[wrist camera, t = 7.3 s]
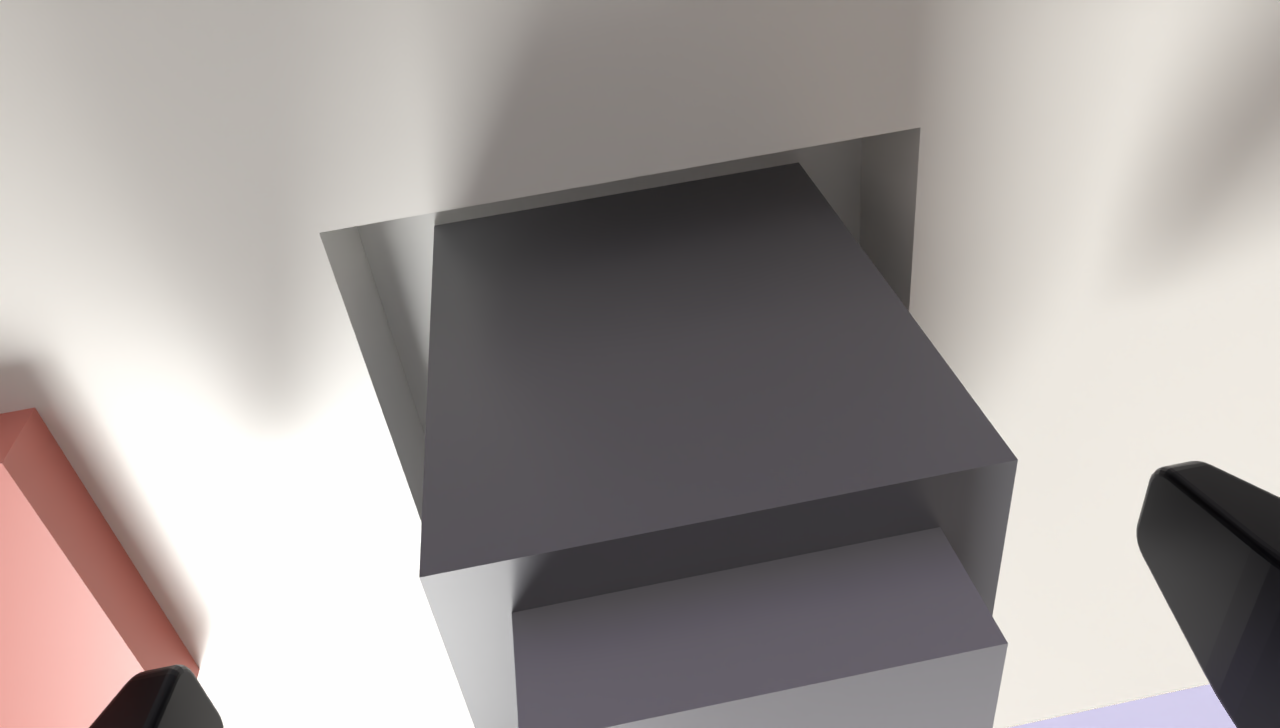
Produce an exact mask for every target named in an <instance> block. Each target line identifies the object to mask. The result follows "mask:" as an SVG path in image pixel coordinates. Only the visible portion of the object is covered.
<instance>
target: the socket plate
mask: <svg viewBox="0 0 1280 728" xmlns="http://www.w3.org/2000/svg"><path fill="white" fill-rule="evenodd" d="M798 162H799V163H800V165H801V166H802V168H803V169H804V170H805V172H806V173H807V174H808V176H809V177H810V178H811V180H812V181H813V182H814V184H815V185H816V186H817V188H818V189H819V191H820V192H821V193H822V195H823V196H824V197H825V199H826V200H827V201H828V203H829V204H830V205H831V207H832V208H833V210H834V211H835V212H836V214H837V215H838V216H839V218H840V219H841V220H842V222H843V223H844V224H845V226H846V227H847V229H848V230H849V231H850V233H851V234H852V235H853V237H854V238H855V239H856V241H857V242H858V243H859V245H860V246H861V248H862V249H863V250H864V252H865V253H866V254H867V256H868V257H869V258H870V260H871V261H872V262H873V264H874V265H875V267H876V268H877V269H878V271H879V272H880V273H881V275H882V276H883V277H884V279H885V280H886V281H887V283H888V284H889V285H890V287H891V288H892V290H893V291H894V292H895V294H896V295H897V296H898V298H899V299H900V300H901V302H902V303H903V304H904V306H905V307H906V309H907V310H908V311H909V313H910V314H911V315H912V317H913V318H914V319H915V321H916V322H917V323H918V325H919V326H920V328H921V329H922V330H923V332H924V333H925V334H926V336H927V337H928V338H929V340H930V341H931V342H932V344H933V345H934V347H935V348H936V349H937V351H938V352H939V353H940V355H941V356H942V357H943V359H944V360H945V361H946V363H947V364H948V365H949V367H950V368H951V370H952V371H953V372H954V374H955V375H956V376H957V378H958V379H959V380H960V382H961V383H962V384H963V386H964V387H965V389H966V390H967V391H968V393H969V394H970V395H971V397H972V398H973V399H974V401H975V402H976V403H977V405H978V406H979V408H980V409H981V410H982V412H983V413H984V414H985V416H986V417H987V418H988V420H989V421H990V422H991V424H992V425H993V427H994V428H995V429H996V431H997V432H998V433H999V435H1000V436H1001V437H1002V439H1003V440H1004V441H1005V443H1006V444H1007V446H1008V447H1009V448H1010V450H1011V451H1012V452H1013V454H1014V455H1015V456H1016V458H1017V459H1018V463H1017V469H1016V475H1015V481H1014V487H1013V493H1012V499H1011V506H1010V512H1009V518H1008V524H1007V530H1006V536H1005V542H1004V548H1003V554H1002V561H1001V567H1000V573H999V579H998V585H997V591H996V597H995V603H994V609H993V615H992V617H993V618H994V620H995V622H996V624H997V625H998V627H999V629H1000V630H1001V632H1002V634H1003V636H1004V637H1005V639H1006V641H1007V642H1008V647H1007V652H1006V657H1005V663H1004V668H1003V674H1002V679H1001V685H1000V690H999V696H998V701H997V706H996V712H995V717H994V723H993V728H1009V727H1013V726H1018V725H1023V724H1027V723H1032V722H1036V721H1041V720H1046V719H1050V718H1055V717H1059V716H1064V715H1069V714H1073V713H1078V712H1083V711H1087V710H1092V709H1096V708H1101V707H1106V706H1110V705H1115V704H1120V703H1124V702H1129V701H1133V700H1138V699H1143V698H1147V697H1152V696H1157V695H1161V694H1166V693H1170V692H1175V691H1180V690H1184V689H1189V688H1194V687H1198V686H1203V685H1207V684H1210V683H1209V681H1208V680H1207V678H1206V676H1205V674H1204V673H1203V671H1202V669H1201V667H1200V665H1199V663H1198V661H1197V659H1196V657H1195V655H1194V653H1193V652H1192V650H1191V648H1190V646H1189V644H1188V642H1187V640H1186V638H1185V636H1184V634H1183V633H1182V631H1181V629H1180V627H1179V625H1178V623H1177V621H1176V619H1175V617H1174V615H1173V613H1172V612H1171V610H1170V608H1169V606H1168V604H1167V602H1166V600H1165V598H1164V596H1163V594H1162V592H1161V591H1160V589H1159V587H1158V585H1157V583H1156V581H1155V579H1154V577H1153V575H1152V573H1151V571H1150V570H1149V568H1148V566H1147V564H1146V562H1145V560H1144V558H1143V556H1142V554H1141V552H1140V549H1139V546H1138V543H1137V537H1136V528H1137V523H1138V519H1139V516H1140V512H1141V508H1142V505H1143V501H1144V498H1145V494H1146V490H1147V487H1148V483H1149V480H1150V477H1151V475H1152V474H1153V473H1154V472H1155V471H1156V470H1157V469H1158V468H1160V467H1164V466H1168V465H1173V464H1178V463H1183V462H1188V461H1202V462H1205V463H1208V464H1211V465H1213V466H1215V467H1217V468H1219V469H1221V470H1223V471H1226V472H1228V473H1230V474H1232V475H1234V476H1236V477H1238V478H1240V479H1242V480H1244V481H1247V482H1249V483H1251V484H1253V485H1255V486H1257V487H1259V488H1261V489H1263V490H1266V491H1268V492H1270V493H1272V494H1274V495H1276V496H1278V497H1280V0H0V728H89V727H90V726H91V724H92V723H93V722H94V721H95V720H96V718H97V717H98V716H99V715H100V714H101V712H102V711H103V710H104V709H105V708H106V707H107V705H108V704H109V703H110V702H111V701H112V699H113V698H114V697H115V696H116V695H117V693H118V692H119V691H120V690H121V689H122V687H123V686H124V685H125V684H126V683H127V682H128V681H129V680H130V679H131V678H132V677H133V676H135V675H136V674H138V673H140V672H143V671H147V670H152V669H157V668H162V667H167V666H172V665H184V666H186V667H188V668H190V670H191V671H192V672H193V673H194V675H195V676H196V678H197V680H198V681H199V683H200V684H201V686H202V687H203V689H204V691H205V692H206V694H207V695H208V697H209V698H210V700H211V702H212V703H213V705H214V706H215V708H216V709H217V711H218V713H219V714H220V717H221V719H222V722H223V725H224V728H475V727H474V724H473V722H472V719H471V716H470V714H469V711H468V708H467V705H466V703H465V700H464V697H463V695H462V692H461V689H460V687H459V684H458V681H457V678H456V676H455V673H454V670H453V668H452V665H451V662H450V660H449V657H448V654H447V651H446V649H445V646H444V643H443V641H442V638H441V635H440V633H439V630H438V627H437V624H436V622H435V619H434V616H433V614H432V611H431V608H430V606H429V603H428V600H427V597H426V595H425V592H424V589H423V587H422V584H421V581H420V578H419V570H420V546H421V523H422V500H423V476H424V453H425V429H426V406H427V382H428V359H429V335H430V312H431V289H432V265H433V242H434V226H435V225H441V224H447V223H453V222H458V221H464V220H470V219H476V218H481V217H487V216H493V215H499V214H504V213H510V212H516V211H522V210H527V209H533V208H539V207H545V206H550V205H556V204H562V203H568V202H573V201H579V200H585V199H591V198H596V197H602V196H608V195H614V194H619V193H625V192H631V191H637V190H642V189H648V188H654V187H660V186H665V185H671V184H677V183H683V182H688V181H694V180H700V179H706V178H711V177H717V176H723V175H729V174H734V173H740V172H746V171H752V170H757V169H763V168H769V167H775V166H780V165H786V164H792V163H798Z"/></svg>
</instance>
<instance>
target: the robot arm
mask: <svg viewBox="0 0 1280 728" xmlns="http://www.w3.org/2000/svg"><path fill="white" fill-rule="evenodd" d="M1136 537H1137V543H1138V546H1139V549H1140V552H1141V554H1142V556H1143V558H1144V560H1145V562H1146V564H1147V566H1148V568H1149V570H1150V571H1151V573H1152V575H1153V577H1154V579H1155V581H1156V583H1157V585H1158V587H1159V589H1160V591H1161V592H1162V594H1163V596H1164V598H1165V600H1166V602H1167V604H1168V606H1169V608H1170V610H1171V612H1172V613H1173V615H1174V617H1175V619H1176V621H1177V623H1178V625H1179V627H1180V629H1181V631H1182V633H1183V634H1184V636H1185V638H1186V640H1187V642H1188V644H1189V646H1190V648H1191V650H1192V652H1193V653H1194V655H1195V657H1196V659H1197V661H1198V663H1199V665H1200V667H1201V669H1202V671H1203V673H1204V674H1205V676H1206V678H1207V680H1208V681H1209V683H1210V685H1211V687H1212V688H1213V690H1214V692H1215V694H1216V696H1217V697H1218V699H1219V700H1220V702H1221V704H1222V705H1223V707H1224V708H1225V710H1226V711H1227V713H1228V715H1229V716H1230V718H1231V719H1232V721H1233V722H1234V724H1235V725H1236V727H1237V728H1280V497H1278V496H1276V495H1274V494H1272V493H1270V492H1268V491H1266V490H1263V489H1261V488H1259V487H1257V486H1255V485H1253V484H1251V483H1249V482H1247V481H1244V480H1242V479H1240V478H1238V477H1236V476H1234V475H1232V474H1230V473H1228V472H1226V471H1223V470H1221V469H1219V468H1217V467H1215V466H1213V465H1211V464H1208V463H1205V462H1202V461H1188V462H1183V463H1178V464H1173V465H1168V466H1164V467H1160V468H1158V469H1157V470H1156V471H1155V472H1154V473H1153V474H1152V475H1151V477H1150V480H1149V483H1148V487H1147V490H1146V494H1145V498H1144V501H1143V505H1142V508H1141V512H1140V516H1139V519H1138V523H1137V528H1136ZM89 728H224V725H223V722H222V719H221V717H220V714H219V713H218V711H217V709H216V708H215V706H214V705H213V703H212V702H211V700H210V698H209V697H208V695H207V694H206V692H205V691H204V689H203V687H202V686H201V684H200V683H199V681H198V680H197V678H196V676H195V675H194V673H193V672H192V671H191V670H190V668H188V667H186V666H184V665H172V666H167V667H162V668H157V669H152V670H147V671H143V672H140V673H138V674H136V675H135V676H133V677H132V678H131V679H130V680H129V681H128V682H127V683H126V684H125V685H124V686H123V687H122V689H121V690H120V691H119V692H118V693H117V695H116V696H115V697H114V698H113V699H112V701H111V702H110V703H109V704H108V705H107V707H106V708H105V709H104V710H103V711H102V712H101V714H100V715H99V716H98V717H97V718H96V720H95V721H94V722H93V723H92V724H91V726H90V727H89Z"/></svg>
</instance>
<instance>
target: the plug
mask: <svg viewBox="0 0 1280 728" xmlns="http://www.w3.org/2000/svg"><path fill="white" fill-rule="evenodd" d="M1017 463H1018V459H1017V458H1016V456H1015V455H1014V454H1013V452H1012V451H1011V450H1010V448H1009V447H1008V446H1007V444H1006V443H1005V441H1004V440H1003V439H1002V437H1001V436H1000V435H999V433H998V432H997V431H996V429H995V428H994V427H993V425H992V424H991V422H990V421H989V420H988V418H987V417H986V416H985V414H984V413H983V412H982V410H981V409H980V408H979V406H978V405H977V403H976V402H975V401H974V399H973V398H972V397H971V395H970V394H969V393H968V391H967V390H966V389H965V387H964V386H963V384H962V383H961V382H960V380H959V379H958V378H957V376H956V375H955V374H954V372H953V371H952V370H951V368H950V367H949V365H948V364H947V363H946V361H945V360H944V359H943V357H942V356H941V355H940V353H939V352H938V351H937V349H936V348H935V347H934V345H933V344H932V342H931V341H930V340H929V338H928V337H927V336H926V334H925V333H924V332H923V330H922V329H921V328H920V326H919V325H918V323H917V322H916V321H915V319H914V318H913V317H912V315H911V314H910V313H909V311H908V310H907V309H906V307H905V306H904V304H903V303H902V302H901V300H900V299H899V298H898V296H897V295H896V294H895V292H894V291H893V290H892V288H891V287H890V285H889V284H888V283H887V281H886V280H885V279H884V277H883V276H882V275H881V273H880V272H879V271H878V269H877V268H876V267H875V265H874V264H873V262H872V261H871V260H870V258H869V257H868V256H867V254H866V253H865V252H864V250H863V249H862V248H861V246H860V245H859V243H858V242H857V241H856V239H855V238H854V237H853V235H852V234H851V233H850V231H849V230H848V229H847V227H846V226H845V224H844V223H843V222H842V220H841V219H840V218H839V216H838V215H837V214H836V212H835V211H834V210H833V208H832V207H831V205H830V204H829V203H828V201H827V200H826V199H825V197H824V196H823V195H822V193H821V192H820V191H819V189H818V188H817V186H816V185H815V184H814V182H813V181H812V180H811V178H810V177H809V176H808V174H807V173H806V172H805V170H804V169H803V168H802V166H801V165H800V163H799V162H798V163H792V164H786V165H780V166H775V167H769V168H763V169H757V170H752V171H746V172H740V173H734V174H729V175H723V176H717V177H711V178H706V179H700V180H694V181H688V182H683V183H677V184H671V185H665V186H660V187H654V188H648V189H642V190H637V191H631V192H625V193H619V194H614V195H608V196H602V197H596V198H591V199H585V200H579V201H573V202H568V203H562V204H556V205H550V206H545V207H539V208H533V209H527V210H522V211H516V212H510V213H504V214H499V215H493V216H487V217H481V218H476V219H470V220H464V221H458V222H453V223H447V224H441V225H435V226H434V242H433V265H432V289H431V312H430V335H429V359H428V382H427V406H426V429H425V453H424V476H423V500H422V523H421V546H420V570H419V578H420V581H421V584H422V587H423V589H424V592H425V595H426V597H427V600H428V603H429V606H430V608H431V611H432V614H433V616H434V619H435V622H436V624H437V627H438V630H439V633H440V635H441V638H442V641H443V643H444V646H445V649H446V651H447V654H448V657H449V660H450V662H451V665H452V668H453V670H454V673H455V676H456V678H457V681H458V684H459V687H460V689H461V692H462V695H463V697H464V700H465V703H466V705H467V708H468V711H469V714H470V716H471V719H472V722H473V724H474V727H475V728H993V723H994V717H995V712H996V706H997V701H998V696H999V690H1000V685H1001V679H1002V674H1003V668H1004V663H1005V657H1006V652H1007V647H1008V642H1007V641H1006V639H1005V637H1004V636H1003V634H1002V632H1001V630H1000V629H999V627H998V625H997V624H996V622H995V620H994V618H993V617H992V615H993V609H994V603H995V597H996V591H997V585H998V579H999V573H1000V567H1001V561H1002V554H1003V548H1004V542H1005V536H1006V530H1007V524H1008V518H1009V512H1010V506H1011V499H1012V493H1013V487H1014V481H1015V475H1016V469H1017Z"/></svg>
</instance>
